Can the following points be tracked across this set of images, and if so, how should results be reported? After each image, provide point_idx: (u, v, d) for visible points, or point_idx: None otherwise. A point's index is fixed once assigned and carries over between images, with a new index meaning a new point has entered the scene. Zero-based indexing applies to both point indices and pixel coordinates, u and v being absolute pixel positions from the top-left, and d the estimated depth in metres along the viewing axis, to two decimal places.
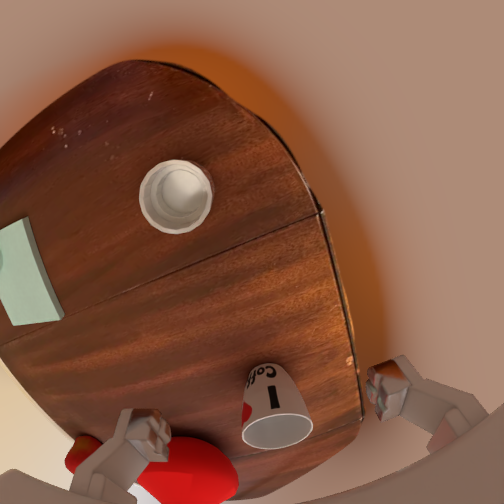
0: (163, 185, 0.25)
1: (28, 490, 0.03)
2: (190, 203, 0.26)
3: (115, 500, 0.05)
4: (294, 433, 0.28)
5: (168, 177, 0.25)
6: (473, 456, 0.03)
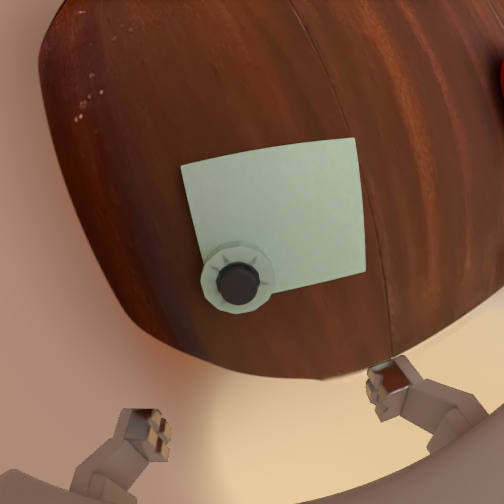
0: None
1: (28, 490, 0.03)
2: None
3: (115, 500, 0.05)
4: None
5: None
6: (473, 456, 0.03)
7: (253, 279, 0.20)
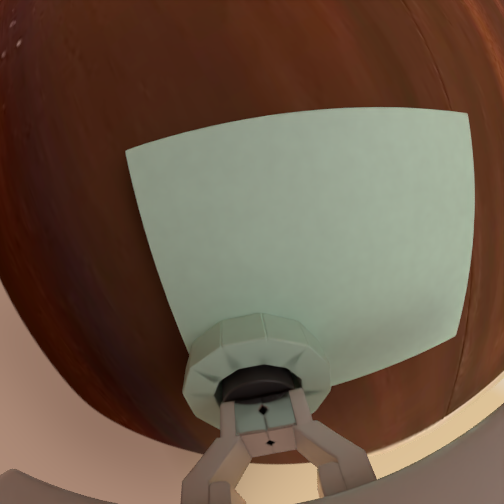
0: None
1: (28, 490, 0.03)
2: None
3: None
4: None
5: None
6: (473, 456, 0.03)
7: (290, 389, 0.09)
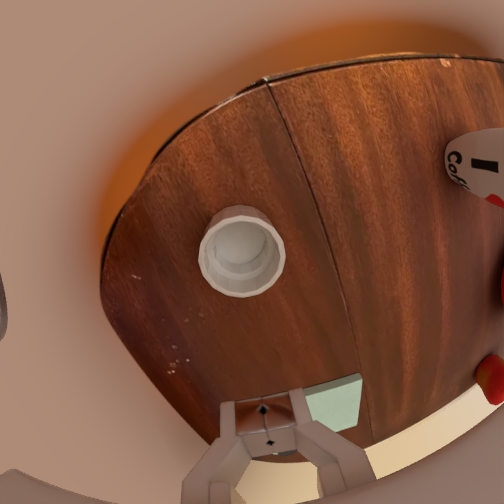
0: (232, 262, 0.24)
1: (28, 490, 0.03)
2: (254, 232, 0.24)
3: None
4: None
5: (224, 256, 0.24)
6: (473, 456, 0.03)
7: None
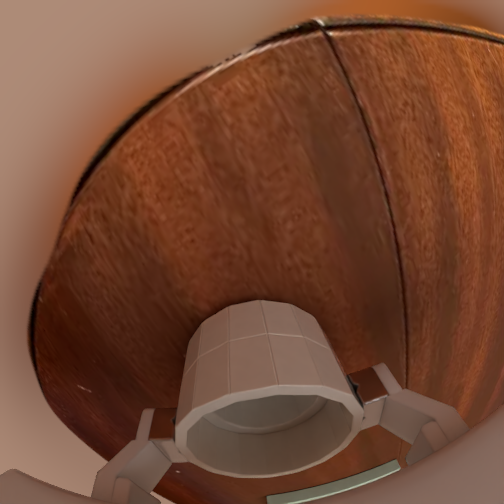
0: None
1: (28, 490, 0.03)
2: None
3: None
4: None
5: None
6: (473, 456, 0.03)
7: None
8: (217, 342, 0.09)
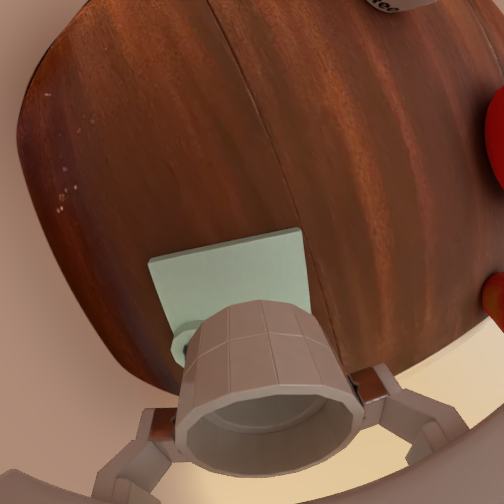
0: None
1: (28, 490, 0.03)
2: None
3: None
4: None
5: None
6: (473, 456, 0.03)
7: None
8: (217, 342, 0.09)
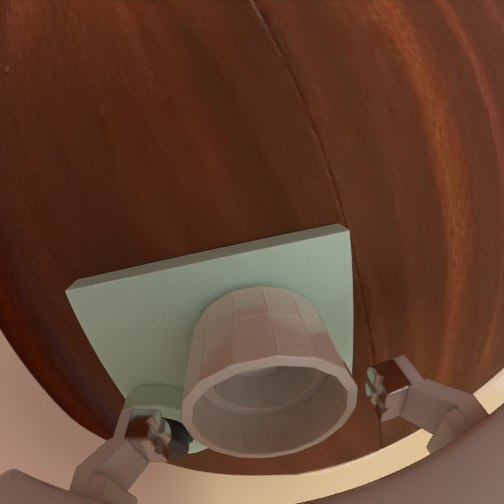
0: (245, 374, 0.13)
1: (28, 490, 0.03)
2: None
3: (115, 500, 0.05)
4: None
5: None
6: (473, 456, 0.03)
7: (180, 443, 0.12)
8: (221, 322, 0.09)
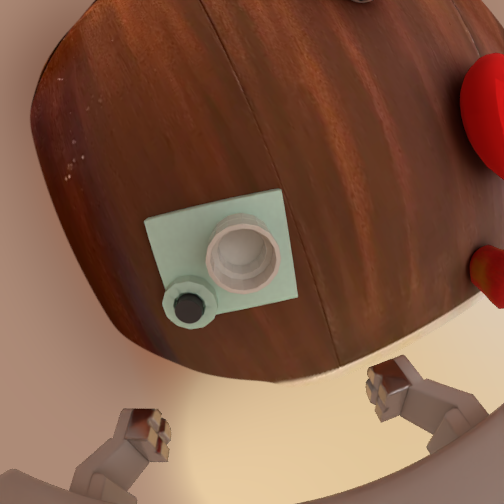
0: (234, 263, 0.28)
1: (28, 490, 0.03)
2: (253, 237, 0.27)
3: (115, 500, 0.05)
4: None
5: (226, 258, 0.27)
6: (473, 456, 0.03)
7: (197, 305, 0.26)
8: (223, 222, 0.24)
